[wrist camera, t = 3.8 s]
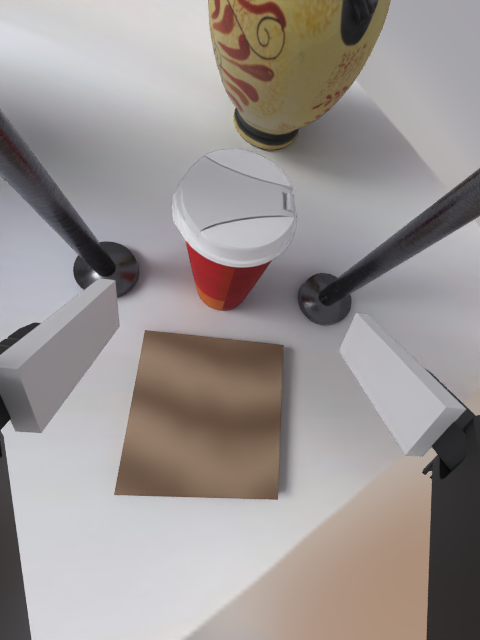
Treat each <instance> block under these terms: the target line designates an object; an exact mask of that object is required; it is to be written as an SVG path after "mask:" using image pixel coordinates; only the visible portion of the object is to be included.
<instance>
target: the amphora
mask: <svg viewBox="0 0 480 640" xmlns="http://www.w3.org/2000/svg"><path fill="white" fill-rule="evenodd" d="M389 5H390V0H208V7H209V24H210V32H211V39H212V45H213V51H214V55H215V59H216V63H217V67H218V70H219V73H220V76H221V79H222V82H223V85H224V87H225V90H226V92H227V94H228V96H229V98H230V99H231V101H232V103H233V104H234V105H235V107H236V109H235V112H234V123H235V127H236V129H237V131H238V132H239V134H240V135H241V136H242V137H243V138H244V139H245V140H246V141H248V142H249V143H251V144H253V145H254V146H257V147H259V148H263V149H269V150H273V149H280V148H284V147H286V146H288V145H289V144H291V143H292V142H293V141H294V139H295V138H296V136H297V134H298V130H299V128H302V127H305V126H307V125H309V124H311V123H312V122H314V121H316V120H317V119H319V118H320V117H321V116H322V115H324V114H325V113H326V112H327V111H329V109H330V108H331V107H332V106H333V105H334V104H335V103H336V102H337V101H338V100H339V99H340V98H341V97H342V96H343V95H344V94H345V92H346V91H347V90H348V89H349V87H350V86H351V85H352V84H353V82H354V81H355V79H356V78H357V76H358V75H359V73H360V71H361V70H362V68H363V66H364V65H365V63H366V61H367V59H368V57H369V56H370V54H371V52H372V50H373V48H374V46H375V43H376V41H377V39H378V37H379V35H380V32H381V30H382V28H383V25H384V22H385V19H386V16H387V13H388V9H389Z"/></svg>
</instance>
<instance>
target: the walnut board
mask: <svg viewBox="0 0 480 640" xmlns="http://www.w3.org/2000/svg"><path fill="white" fill-rule="evenodd" d="M282 370H283V345H277V344H268V343H259V342H249V341H240V340H231V339H221V338H212V337H203V336H194V335H184V334H175V333H166V332H156V331H147V330H145V333H144V339H143V344H142V349H141V355H140V360H139V365H138V371H137V376H136V381H135V387H134V392H133V397H132V403H131V408H130V413H129V419H128V424H127V429H126V435H125V440H124V445H123V451H122V456H121V461H120V467H119V472H118V477H117V483H116V488H115V493H114V495H135V496H171V497H206V498H241V499H276V500H278V480H279V452H280V425H281V397H282Z"/></svg>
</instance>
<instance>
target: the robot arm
mask: <svg viewBox="0 0 480 640" xmlns="http://www.w3.org/2000/svg"><path fill="white" fill-rule="evenodd" d="M119 326H120V325H119V314H118V304H117V293H116V283H115V280H109V279H102V278H99V279H98V280H96V281H95V282H94V283H92V284H91V285H90V286H89V287H87V288H86V289H85V290H83V291H82V292H81V293H80V294H78V295H77V296H76V297H74V298H73V299H72V300H71V301H69V302H68V303H67V304H65V305H64V306H63V307H62V308H60V309H59V310H58V311H56V312H55V313H54V314H52V315H51V316H50V317H49V318H47V319H46V320H45V321H43V322H42V323H32V324H30V325H27V326H25V327H23V328H20V329H18V330H17V331H16V332H14V333H13V334H11V335H10V336H9V337H8V339H4V340H3V341H2V342H0V430H1V429H2V428H3V427H4V426H5V425H6V423H7V422H8V421H9V420H11V422H12V425H13V427H14V429H15V431H19V432H36V433H41V432H42V431H43V430H44V428H45V427H46V426H47V424H48V423H49V422H50V420H51V419H52V417H53V416H54V415H55V413H56V412H57V411H58V409H59V408H60V407H61V405H62V404H63V403H64V401H65V400H66V398H67V397H68V396H69V394H70V393H71V392H72V390H73V389H74V388H75V386H76V385H77V383H78V382H79V381H80V379H81V378H82V377H83V375H84V374H85V373H86V371H87V370H88V369H89V367H90V366H91V364H92V363H93V362H94V360H95V359H96V358H97V356H98V355H99V354H100V352H101V351H102V349H103V348H104V347H105V345H106V344H107V343H108V341H109V340H110V339H111V337H112V336H113V335H114V333H115V332H116V330H117V329H118V328H119ZM339 352H340V354H341V355H342V357H343V358H344V360H345V362H346V363H347V365H348V366H349V368H350V369H351V371H352V373H353V374H354V376H355V377H356V379H357V380H358V382H359V384H360V385H361V387H362V388H363V390H364V391H365V393H366V395H367V396H368V398H369V399H370V401H371V402H372V404H373V406H374V407H375V409H376V410H377V412H378V413H379V415H380V417H381V418H382V420H383V421H384V423H385V424H386V426H387V428H388V429H389V431H390V432H391V434H392V435H393V437H394V439H395V440H396V442H397V443H398V445H399V446H400V448H401V450H402V451H403V453H404V454H405V455H407V456H424V455H425V454H426V452H427V451H428V450H429V449H430V448H431V447H433V449H434V450H435V451H436V453H437V454H438V455H437V456H436V457H435V458H434V459H433V460H432V461H431V462H430V463H429V464H428V465H427V466H426V468H424V470H423V472H422V473H423V474H425V475H426V474H427V473H428V471H432V476H431V477H430V478H431V479H432V498H431V526H430V555H429V584H428V585H429V586H428V613H427V614H428V615H427V640H480V415H478V416H475V415H474V414H473V413H472V412H471V411H470V410H469V409H468V408H467V407H466V406H465V405H464V404H463V403H462V402H461V401H460V400H459V399H458V398H457V397H456V396H455V395H454V394H453V393H452V392H450V391H449V390H447V388H446V387H445V386H444V385H443V384H442V383H441V382H439V380H438V379H437V378H436V377H435V376H434V375H433V374H432V373H431V372H429V371H428V370H426V369H425V368H423V367H422V366H421V365H420V364H419V363H418V362H417V361H416V360H415V359H414V358H413V357H412V356H411V355H410V354H409V353H408V352H407V351H406V350H405V349H404V348H403V347H402V346H401V345H400V344H399V343H398V342H397V341H396V340H395V339H394V338H393V337H392V336H391V335H390V334H389V333H387V332H386V331H385V330H384V329H383V328H382V327H381V326H380V325H379V324H378V323H377V322H376V321H375V320H374V319H373V318H372V317H371V316H370V315H369V314H363V313H356V314H355V316H354V319H353V321H352V323H351V325H350V327H349V330H348V332H347V334H346V336H345V338H344V341H343V343H342V345H341V347H340V349H339ZM0 640H31V634H30V626H29V619H28V612H27V604H26V597H25V590H24V582H23V575H22V568H21V561H20V553H19V546H18V539H17V531H16V524H15V517H14V510H13V502H12V495H11V488H10V480H9V473H8V466H7V458H6V451H5V444H4V437H3V435H2V433H1V431H0Z"/></svg>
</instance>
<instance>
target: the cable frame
mask: <svg viewBox="0 0 480 640" xmlns="http://www.w3.org/2000/svg"><path fill="white" fill-rule="evenodd" d="M0 175H1V176H2V177H3V178H4V179H5V180H6V181H7V182H8V183H9V184H10V185H11V186H12V187H13V188H14V189H15V190H16V191H17V192H18V193H19V194H20V195H21V196H22V197H23V198H24V199H25V200H26V201H27V203H28V204H29V205H30V206H31V207H32V208H33V209H34V210H35V211H36V212H37V213H38V214H39V215H40V216H41V217H42V218H43V219H44V220H45V221H46V222H47V223H48V224H49V225H50V226H51V227H52V228H53V229H54V230H55V231H56V232H57V233H58V234H59V235H60V236H61V237H62V238H63V239H64V240H65V241H66V242H67V243H68V244H69V245H70V246H71V247H72V249H73V250H74V251H75V252H76V253H77V254H78V257H77V258H76V260H75V263H74V269H73V272H74V277H75V279H76V282H77V283H78V284H79V286H80V287H81V288H83V289H84V290H85V289H86V288H87V287H89V286H90V285H91V284H92V283H94V282H95V281H96V280H98V279H99V278H102V279H109V280H115V283H116V293H117V297H120V296H122V295H124V294H126V293H127V292H128V291H130V290H131V289H132V288H133V286H134V285H135V283H136V282H137V279H138V276H139V267H138V264H137V261H136V259H135V258H134V256H133V254H132V253H131V252H130V251H129V250H128V249H127V248H126V247H124V246H123V245H121V244H118V243H114V242H99V241H98V240H97V239H96V237H95V236H94V235H93V233H92V232H91V231H90V229H89V228H88V226H87V225H86V224H85V222H84V221H83V220H82V218H81V217H80V216H79V214H78V213H77V212H76V210H75V209H74V208H73V206H72V205H71V204H70V202H69V201H68V200H67V198H66V197H65V196H64V194H63V193H62V192H61V190H60V189H59V187H58V186H57V185H56V183H55V182H54V181H53V179H52V178H51V177H50V175H49V174H48V173H47V171H46V170H45V169H44V167H43V166H42V165H41V163H40V162H39V161H38V159H37V158H36V157H35V155H34V154H33V152H32V151H31V150H30V148H29V147H28V146H27V144H26V143H25V142H24V140H23V139H22V138H21V136H20V135H19V134H18V132H17V131H16V130H15V128H14V127H13V126H12V124H11V123H10V122H9V120H8V119H7V117H6V116H5V115H4V113H3V112H2V111H1V109H0ZM479 216H480V169H478V170H477V171H476V172H474V173H473V174H472V175H471V176H469V177H468V178H467V179H465V180H464V181H463V182H462V183H460V184H459V185H458V186H456V187H455V188H454V189H452V190H451V191H450V192H448V193H447V194H446V195H445V196H443V197H442V198H441V199H439V200H438V201H437V202H436V203H434V204H433V205H432V206H430V207H429V208H428V209H426V210H425V211H424V212H423V213H421V214H420V215H419V216H417V217H416V218H415V219H414V220H412V221H411V222H410V223H408V224H407V225H406V226H404V227H403V228H402V229H401V230H399V231H398V232H397V233H395V234H394V235H393V236H392V237H390V238H389V239H388V240H386V241H385V242H384V243H382V244H381V245H380V246H379V247H377V248H376V249H375V250H373V251H372V252H371V253H370V254H368V255H367V256H366V257H364V258H363V259H362V260H360V261H359V262H358V263H357V264H355V265H354V266H353V267H351V268H350V269H349V270H347V271H346V272H345V273H344V274H342V275H341V276H340V277H338V278H337V277H335V276H333V275H330V274H325V273H320V274H316V275H313V276H311V277H310V278H309V279H308V280H307V281H306V282H305V283H304V284H303V285H302V286H301V288H300V291H299V296H298V300H299V305H300V308H301V310H302V312H303V313H304V314H305V316H306V317H307V318H308V319H310V320H311V321H313V322H315V323H317V324H320V325H331V324H334V323H336V322H339V321H341V320H342V319H344V318H345V317H346V316H347V314H348V313H349V311H350V308H351V296H350V294H351V293H353V292H354V291H356V290H358V289H359V288H361V287H363V286H364V285H366V284H368V283H369V282H371V281H373V280H374V279H376V278H378V277H379V276H381V275H383V274H384V273H386V272H388V271H389V270H391V269H393V268H394V267H396V266H398V265H399V264H401V263H403V262H404V261H406V260H408V259H409V258H411V257H413V256H414V255H416V254H418V253H419V252H421V251H423V250H424V249H426V248H428V247H429V246H431V245H433V244H434V243H436V242H438V241H439V240H441V239H443V238H444V237H446V236H448V235H449V234H451V233H453V232H454V231H456V230H458V229H459V228H461V227H463V226H464V225H466V224H468V223H469V222H471V221H473V220H474V219H476V218H478V217H479Z"/></svg>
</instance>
